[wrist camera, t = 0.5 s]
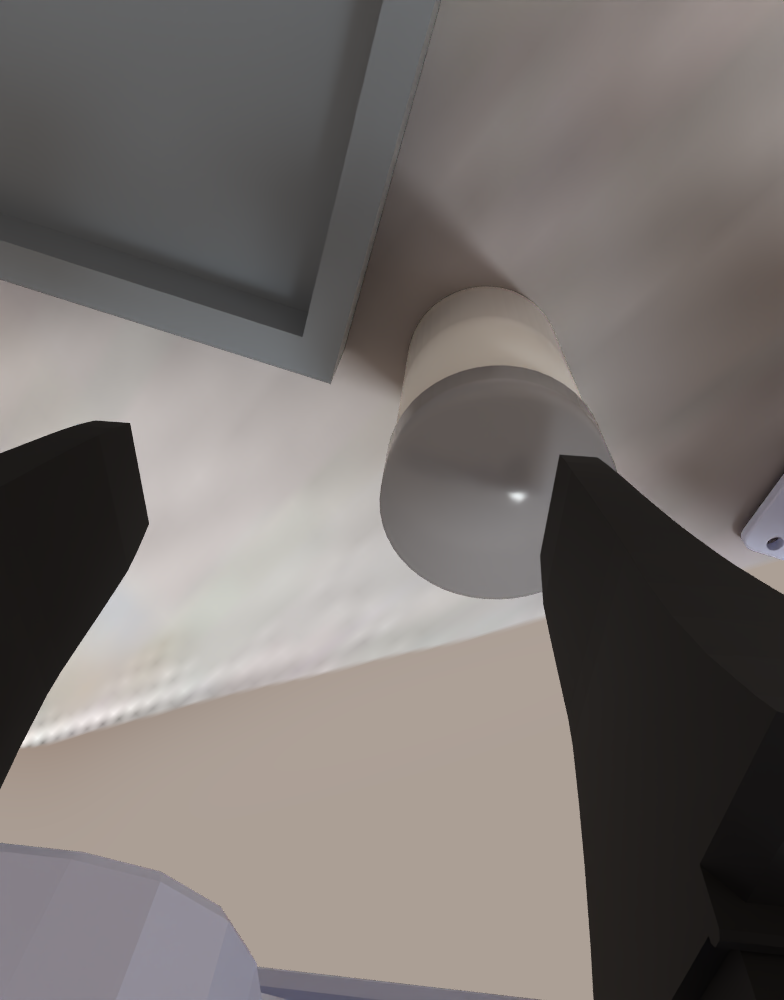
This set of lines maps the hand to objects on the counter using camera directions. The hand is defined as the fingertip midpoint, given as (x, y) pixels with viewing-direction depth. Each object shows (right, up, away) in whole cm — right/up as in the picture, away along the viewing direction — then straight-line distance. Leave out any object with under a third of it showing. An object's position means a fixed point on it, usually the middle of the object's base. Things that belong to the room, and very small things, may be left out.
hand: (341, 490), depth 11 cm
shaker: (+4, +4, +8) cm, 10 cm away
